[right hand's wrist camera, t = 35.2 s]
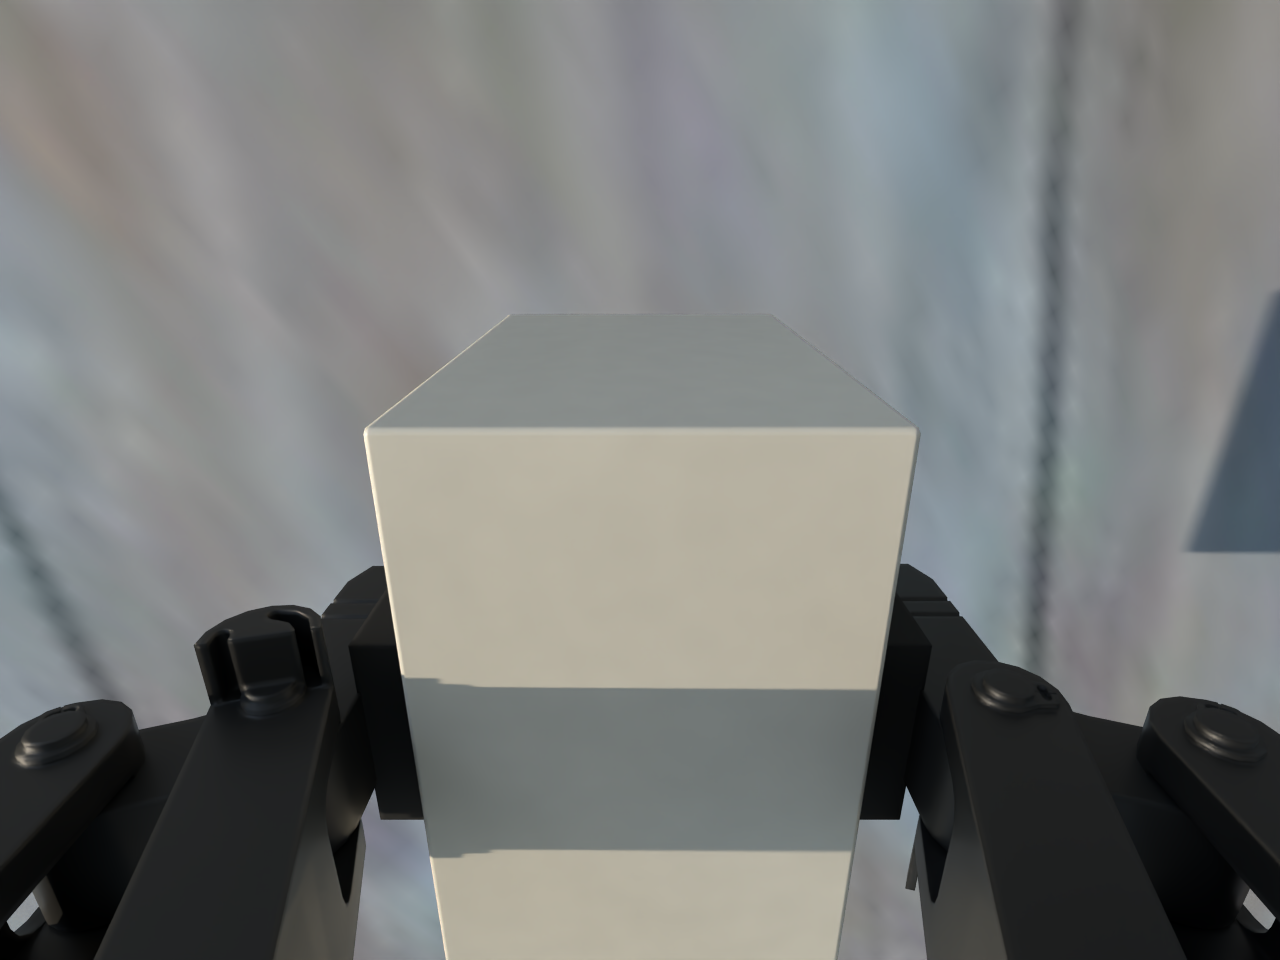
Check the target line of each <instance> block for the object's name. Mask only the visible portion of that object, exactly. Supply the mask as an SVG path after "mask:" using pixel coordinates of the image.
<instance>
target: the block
mask: <svg viewBox="0 0 1280 960" xmlns="http://www.w3.org/2000/svg"><path fill="white" fill-rule="evenodd" d="M364 440H365V447H366V453H367V459H368V466H369V472H370V479H371V485H372V491H373V498H374V504H375V510H376V517H377V523H378V530H379V536H380V542H381V549H382V555H383V561H384V568H385V574H386V580H387V587H388V593H389V600H390V606H391V612H392V619H393V625H394V631H395V638H396V644H397V651H398V657H399V663H400V670H401V676H402V682H403V689H404V695H405V701H406V708H407V714H408V721H409V727H410V733H411V740H412V746H413V752H414V759H415V765H416V772H417V778H418V784H419V791H420V797H421V803H422V810H423V816H424V822H425V829H426V835H427V842H428V848H429V854H430V861H431V867H432V873H433V880H434V886H435V892H436V899H437V905H438V912H439V918H440V924H441V931H442V937H443V943H444V950H445V956H446V960H837V959H838V952H839V946H840V940H841V933H842V927H843V921H844V915H845V908H846V902H847V896H848V889H849V883H850V877H851V870H852V864H853V858H854V851H855V845H856V839H857V832H858V826H859V820H860V813H861V807H862V801H863V794H864V788H865V782H866V776H867V769H868V763H869V757H870V750H871V744H872V738H873V731H874V725H875V719H876V712H877V706H878V700H879V693H880V687H881V681H882V674H883V668H884V662H885V655H886V649H887V643H888V637H889V630H890V624H891V618H892V611H893V605H894V599H895V592H896V586H897V580H898V573H899V567H900V561H901V554H902V548H903V542H904V535H905V529H906V523H907V516H908V510H909V504H910V497H911V491H912V485H913V479H914V472H915V466H916V460H917V453H918V447H919V441H920V430H919V428H918V427H917V426H916V425H914V424H913V423H912V422H910V421H909V420H908V419H906V418H905V417H904V416H903V415H901V414H900V413H899V412H897V411H896V410H895V409H894V408H892V407H891V406H890V405H888V404H887V403H886V402H884V401H883V400H882V399H881V398H879V397H878V396H877V395H875V394H874V393H873V392H872V391H870V390H869V389H868V388H866V387H865V386H864V385H862V384H861V383H860V382H859V381H857V380H856V379H855V378H853V377H852V376H851V375H849V374H848V373H847V372H846V371H844V370H843V369H842V368H840V367H839V366H838V365H837V364H835V363H834V362H833V361H831V360H830V359H829V358H827V357H826V356H825V355H824V354H822V353H821V352H820V351H818V350H817V349H816V348H815V347H813V346H812V345H811V344H809V343H808V342H807V341H805V340H804V339H803V338H802V337H800V336H799V335H798V334H796V333H795V332H794V331H792V330H791V329H790V328H789V327H787V326H786V325H785V324H783V323H782V322H781V321H780V320H778V319H777V318H776V317H774V316H773V315H771V314H511V315H509V316H508V317H506V318H505V319H504V320H502V321H501V322H500V323H499V324H497V325H496V326H495V327H494V328H492V329H491V330H490V331H488V332H487V333H486V334H485V335H483V336H482V337H481V338H480V339H478V340H477V341H476V342H474V343H473V344H472V345H471V346H469V347H468V348H467V349H466V350H464V351H463V352H462V353H460V354H459V355H458V356H457V357H455V358H454V359H453V360H452V361H450V362H449V363H448V364H446V365H445V366H444V367H443V368H441V369H440V370H439V371H438V372H436V373H435V374H434V375H432V376H431V377H430V378H429V379H427V380H426V381H425V382H424V383H422V384H421V385H420V386H418V387H417V388H416V389H415V390H413V391H412V392H411V393H410V394H408V395H407V396H406V397H404V398H403V399H402V400H401V401H399V402H398V403H397V404H396V405H394V406H393V407H392V408H390V409H389V410H388V411H387V412H385V413H384V414H383V415H382V416H380V417H379V418H378V419H377V420H375V421H374V422H373V423H371V424H370V425H369V426H368V427H366V428H365V431H364Z"/></svg>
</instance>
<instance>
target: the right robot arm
mask: <svg viewBox="0 0 1280 960" xmlns="http://www.w3.org/2000/svg"><path fill="white" fill-rule="evenodd" d="M194 648H195V651H196V655H197V658H198V662H199V665H200V669H201V672H202V676H203V679H204V683H205V686H206V689H207V693H208V696H209V700H210V703H211V706H210V708H209V710H208V713H207V715H205V716H201V717H198V718H194V719H189V720H184V721H180V722H175V723H170V724H165V725H160V726H155V727H151V728H146V729H141V730H138V727H137V724H136V721H135V718H134V715H133V712H132V710H131V709H130V708H129V707H127V706H126V705H125V704H123V703H122V702H119V701H111V700H103V699H101V700H94V701H86V702H79V703H73V704H69V705H65V706H64V707H58V708H56V709H53V710H50V711H47V712H45V713H43V714H42V715H40V716H38V717H36V718H34V719H32V720H30V721H28V722H26V723H23V724H21V725H20V726H18V727H17V728H15V729H14V730H12V731H11V732H10V733H8V734H7V735H5V736H4V737H2V738H1V739H0V960H353V955H354V946H355V937H356V929H357V920H358V911H359V902H360V893H361V885H362V876H363V867H364V858H365V850H366V843H365V836H364V830H363V825H362V820H361V817H362V814H363V812H364V810H365V808H366V806H367V804H368V801H369V799H370V797H371V795H372V793H373V791H374V788H375V792H376V797H377V802H378V808H379V813H380V818H381V820H424V816H423V810H422V803H421V797H420V791H419V784H418V778H417V772H416V765H415V759H414V752H413V746H412V740H411V733H410V727H409V721H408V714H407V708H406V701H405V695H404V689H403V682H402V676H401V670H400V663H399V657H398V651H397V644H396V638H395V631H394V625H393V619H392V612H391V606H390V600H389V593H388V587H387V580H386V574H385V568H384V566H372V567H370V568H369V569H367V570H366V571H364V572H363V573H361V574H359V575H358V576H356V577H355V578H353V579H351V580H350V581H348V582H347V584H346V585H345V586H344V587H343V589H342V590H341V591H340V592H339V594H338V595H337V596H336V598H335V599H334V603H331V604H330V605H329V606H328V608H327V609H326V610H325V611H324V613H323V614H322V619H321V616H319V615H318V614H317V613H316V612H314V611H313V610H312V609H310V608H305V607H300V606H296V605H282V606H269V607H264V608H260V609H255V610H251V611H247V612H244V613H242V614H239V615H237V616H234V617H232V618H229V619H226V620H224V621H223V622H221V623H219V624H218V625H216V626H215V627H213V628H211V629H210V630H208V631H207V632H205V633H204V635H203V636H202V637H201V638H200V639H199V640H198V641H197V642H196V643H195V644H194ZM906 786H907V788H908V790H909V793H910V795H911V797H912V799H913V801H914V803H915V806H916V808H917V810H918V812H919V814H920V815H919V820H918V825H917V830H916V835H915V840H914V845H913V849H912V854H911V859H910V864H909V869H908V875H907V881H906V889H910V890H914V891H915V887H916V882H917V877H918V883H919V892H920V900H921V909H922V918H923V927H924V936H925V944H926V953H927V960H1280V734H1278V733H1277V732H1276V731H1274V730H1273V729H1271V728H1270V727H1268V726H1267V725H1265V724H1264V723H1262V722H1261V721H1259V720H1256V719H1254V718H1252V717H1250V716H1248V715H1246V714H1244V713H1242V712H1240V711H1239V710H1237V709H1235V708H1232V707H1229V706H1226V705H1224V704H1221V705H1220V704H1218V703H1217V702H1213V701H1208V700H1203V699H1195V698H1188V697H1180V696H1179V697H1171V698H1163V699H1160V700H1158V701H1157V702H1156V703H1154V704H1153V705H1152V706H1150V708H1149V711H1148V714H1147V717H1146V720H1145V723H1144V726H1143V727H1140V726H1135V725H1130V724H1125V723H1120V722H1115V721H1110V720H1106V719H1101V718H1096V717H1091V716H1087V715H1083V714H1079V713H1075V712H1073V711H1072V709H1071V707H1070V705H1069V703H1068V702H1067V701H1066V699H1065V698H1064V697H1063V695H1062V694H1061V693H1060V692H1059V690H1058V689H1056V688H1055V687H1054V686H1052V685H1051V684H1049V683H1048V682H1047V681H1045V680H1044V679H1043V678H1041V677H1040V676H1037V675H1035V674H1033V673H1031V672H1028V671H1026V670H1024V669H1022V668H1020V667H1017V666H1013V665H1009V664H1005V663H1001V662H998V661H997V659H996V658H995V657H994V656H993V654H992V653H991V652H990V651H989V649H988V648H987V647H986V646H985V644H984V643H983V642H982V641H981V639H980V638H979V637H978V635H977V634H976V633H975V632H974V630H973V629H972V628H971V627H970V625H969V624H968V623H967V622H966V620H965V619H964V618H963V617H962V616H959V612H958V610H957V609H956V608H955V607H954V605H953V604H952V603H951V602H950V601H947V597H946V595H945V594H944V593H943V592H942V590H941V589H940V588H939V587H938V585H937V584H936V583H935V582H934V580H933V579H931V578H930V577H928V576H927V575H925V574H923V573H922V572H920V571H919V570H917V569H915V568H914V567H912V566H911V565H909V564H900V567H899V573H898V580H897V586H896V592H895V599H894V605H893V611H892V618H891V624H890V630H889V637H888V643H887V649H886V655H885V662H884V668H883V674H882V681H881V687H880V693H879V700H878V706H877V712H876V719H875V725H874V731H873V738H872V744H871V750H870V757H869V763H868V769H867V776H866V782H865V788H864V794H863V801H862V807H861V813H860V820H900V815H901V810H902V805H903V799H904V794H905V789H906ZM1249 889H1251V890H1252V891H1253V892H1254V893H1255V894H1256V896H1257V897H1258V898H1259V899H1260V900H1261V901H1262V902H1263V904H1264V905H1265V906H1266V907H1267V908H1268V909H1269V911H1270V912H1271V913H1272V914H1273V915H1274V916H1275V917H1276V919H1275V921H1274V923H1273V925H1272V927H1271V928H1270V929H1269V930H1268V929H1266V928H1265V927H1264V926H1262V925H1261V924H1260V923H1259V922H1258V921H1257V920H1256V919H1255V918H1254V917H1253V915H1252V914H1251V913H1250V912H1249V911H1248V910H1247V908H1246V907H1245V906H1244V905H1243V902H1244V900H1245V898H1246V896H1247V894H1248V892H1249ZM31 892H33V894H34V896H35V899H36V901H37V903H38V905H39V907H38V908H37V910H36V911H35V912H34V913H33V914H32V915H31V917H30V918H29V919H28V920H27V921H26V922H25V923H24V924H23V925H22V926H21V927H19V928H18V929H17V930H16V931H15V932H13V931H12V930H11V929H10V927H9V925H8V923H7V920H8V919H9V918H10V917H11V915H12V914H13V913H14V912H15V911H16V910H17V908H18V907H19V906H20V905H21V904H22V903H23V901H24V900H25V899H26V898H27V897H28V896H29V895H30V893H31Z"/></svg>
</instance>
